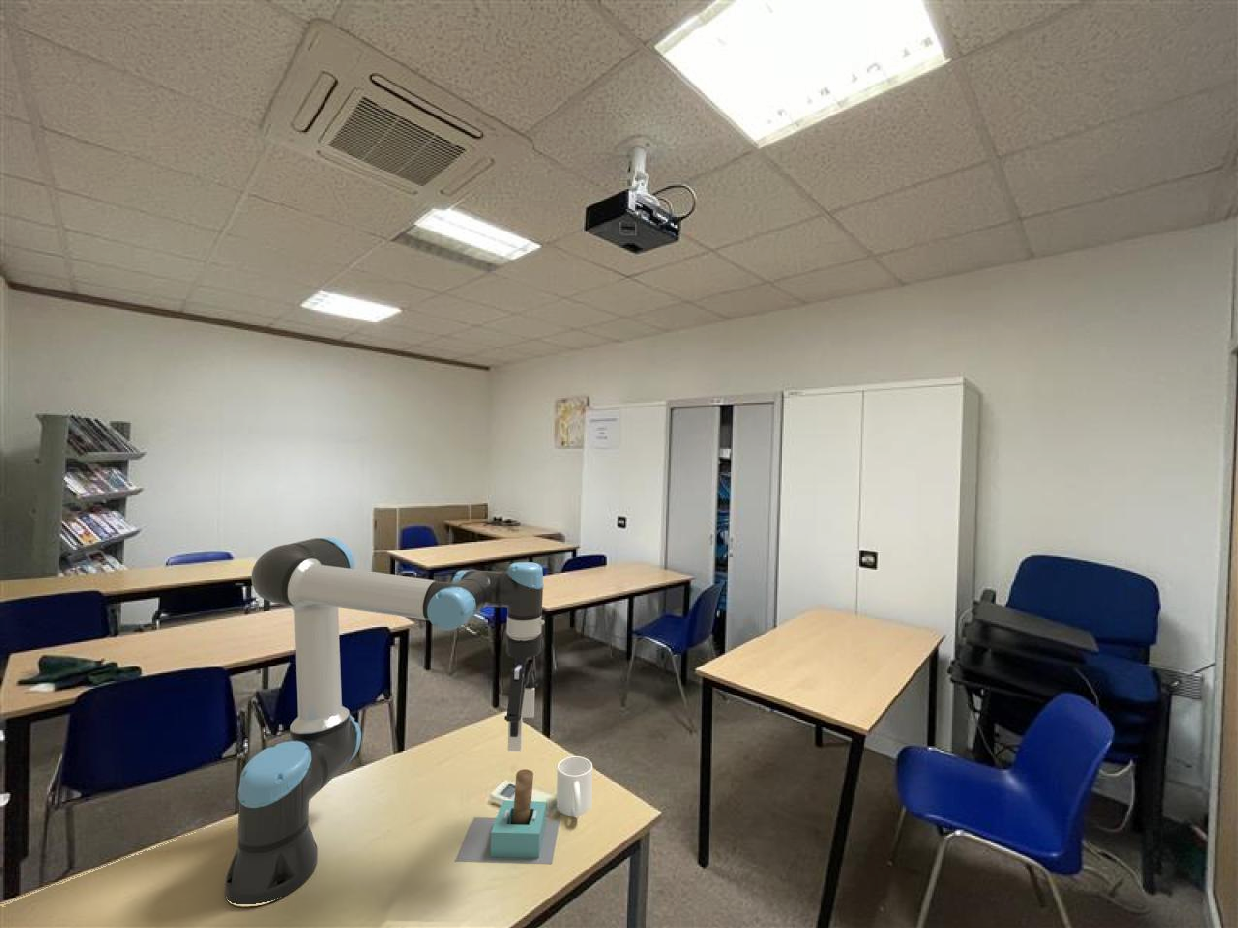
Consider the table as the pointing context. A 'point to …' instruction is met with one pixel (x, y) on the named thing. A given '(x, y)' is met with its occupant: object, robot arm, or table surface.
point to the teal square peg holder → (518, 832)
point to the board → (479, 844)
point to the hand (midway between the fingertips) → (521, 732)
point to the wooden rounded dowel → (522, 797)
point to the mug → (574, 786)
